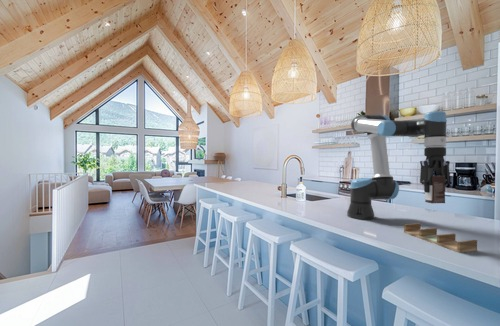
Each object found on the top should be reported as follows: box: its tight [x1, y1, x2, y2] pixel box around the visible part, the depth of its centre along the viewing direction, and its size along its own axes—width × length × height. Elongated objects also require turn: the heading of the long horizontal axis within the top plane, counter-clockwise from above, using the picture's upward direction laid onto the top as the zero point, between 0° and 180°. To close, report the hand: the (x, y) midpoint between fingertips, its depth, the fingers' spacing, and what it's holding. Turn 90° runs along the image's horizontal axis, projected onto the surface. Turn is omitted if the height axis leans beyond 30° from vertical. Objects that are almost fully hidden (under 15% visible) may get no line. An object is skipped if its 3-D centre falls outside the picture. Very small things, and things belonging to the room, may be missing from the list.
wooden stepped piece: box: [403, 222, 478, 254], centre depth 101 cm, size 24×9×4 cm, turn 13°
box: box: [424, 175, 446, 204], centre depth 102 cm, size 6×4×12 cm
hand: (434, 199), depth 102 cm, fingers closed on box, 6 cm apart
